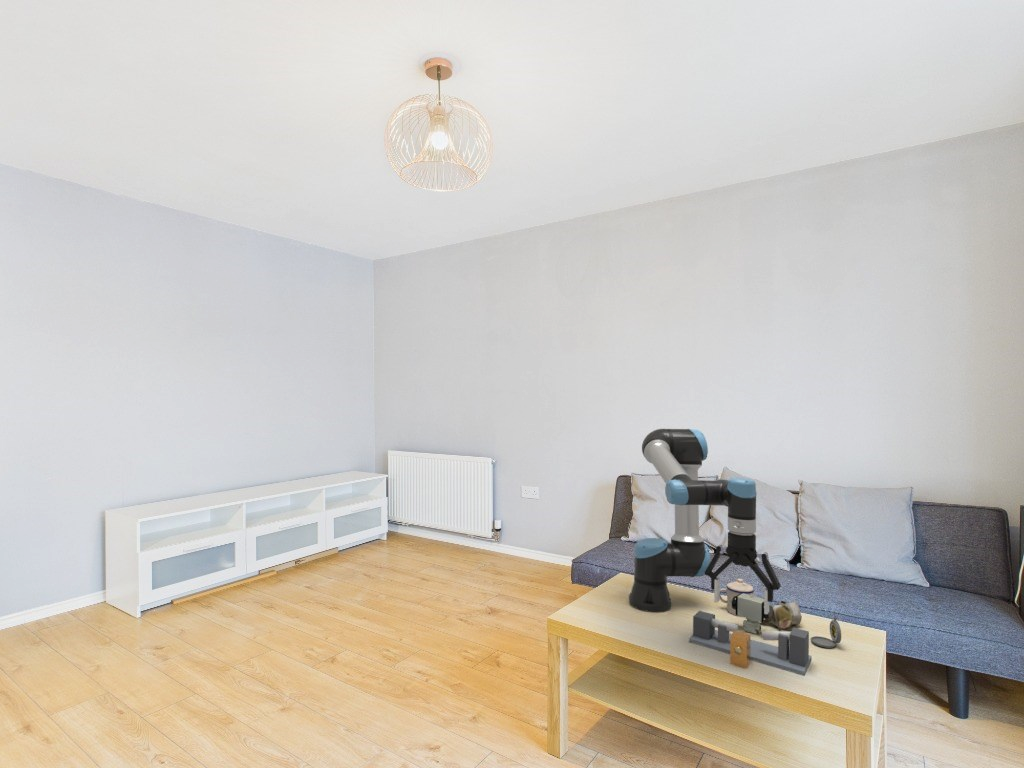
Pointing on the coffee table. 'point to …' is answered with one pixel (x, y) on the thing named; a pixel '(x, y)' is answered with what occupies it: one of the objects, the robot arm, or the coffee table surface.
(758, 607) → the pneumatic valve
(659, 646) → the coffee table surface
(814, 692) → the coffee table surface
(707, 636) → the shaft rig
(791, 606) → the ceramic sculpture
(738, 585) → the teacup with lid
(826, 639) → the pocket watch
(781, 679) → the coffee table surface
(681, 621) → the coffee table surface
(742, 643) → the universal joint coupler
